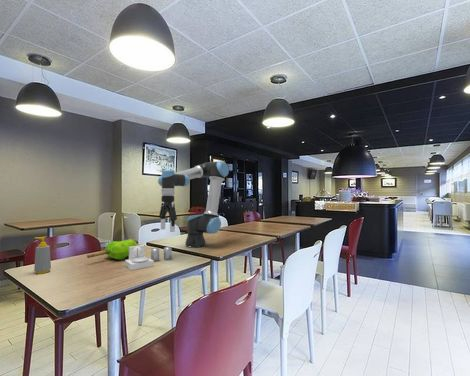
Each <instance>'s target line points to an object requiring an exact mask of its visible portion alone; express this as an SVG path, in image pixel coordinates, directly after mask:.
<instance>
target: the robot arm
mask: <svg viewBox="0 0 470 376" xmlns="http://www.w3.org/2000/svg"><path fill="white" fill-rule="evenodd" d="M175 171H176V170H174V169H163V170H162V171H161V175H160V176H158V178H157V183H158V185H159V186H160V187H161V189H160V191H161V206H160V210H159V211H160V212H159V215H158V217H159V219H160V230H161V231H162V230H166V215H167V214H168V216H169V218H170V219H169V233H175V232H176V227H175V226H176V220H178V216H177V213H176V208H175V187H187V186H189V184H190V182H191V181H190V180H192V179H196V178H197V179H198V178H199V179H201V178H208V179H209V180H210V182H209V186H208V187H209V188H208V194H207V195H208V196H207V202H206V208H205V211H204V212H203V213H202V214H194V215H193V214H192V215H188V217H187V236H186V239H185V243H184V244H185V245H186V246H191V247H190V248H193V247H194V248H199V247H198V246H203V247H205V246H206V240H205V237H204V233H205V234H213V235H214V234H216V233H218V232H219V231H220V229H221V226H222V220H221V219H220V216H219V213H218V210H219V204H220V197H221V191H222V182H223V181H225V178H226V177H228V175H229V172H230V171H229V167H228V163H226V162H225V161H224V160H222V161H219V160H218V161H217V160H216V161H208V162H204V163H201V164H198V165H195V166H194V167H191V168H188V169H184V170H179V171H176V172H175ZM185 245H184V246H185ZM204 245H205V246H204ZM186 246H185V247H186Z"/></svg>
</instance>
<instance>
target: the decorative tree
mask: <svg viewBox="0 0 470 376" xmlns="http://www.w3.org/2000/svg"><path fill="white" fill-rule="evenodd" d="M132 246H138V244H137V242H136V240H134V239H131V238H130V239H126V240H121V241H118V240H117V241H116V240H115V241H113V240H112V241H110V242H109V243H108V244H106V246H105V248H104V251H101V252H97V253H91V254H88V255H87V256H86V257H87V258H88V259H90V258H94V257H99V256H103V255H106V256H108V257H109V258H110V259H114V260H119V261H122V260H125V259H126V258H127V257H129V247H132Z"/></svg>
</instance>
